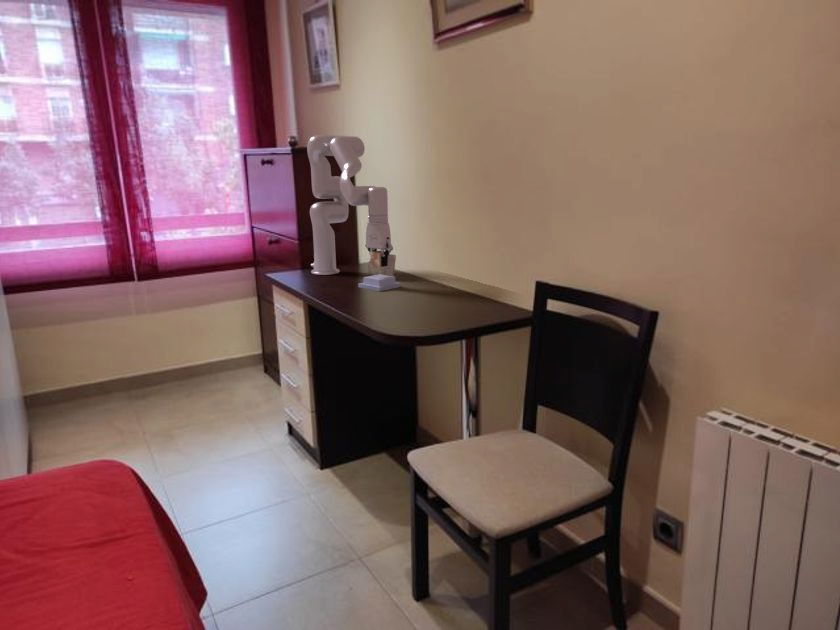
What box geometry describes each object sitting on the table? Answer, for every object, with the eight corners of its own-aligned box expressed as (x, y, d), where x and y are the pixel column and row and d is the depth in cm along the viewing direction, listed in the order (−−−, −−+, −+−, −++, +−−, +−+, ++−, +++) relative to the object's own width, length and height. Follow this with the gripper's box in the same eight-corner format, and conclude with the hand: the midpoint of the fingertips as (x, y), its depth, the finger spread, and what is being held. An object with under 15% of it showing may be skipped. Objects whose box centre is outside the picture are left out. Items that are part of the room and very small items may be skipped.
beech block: (370, 266, 234) (370, 251, 233) (379, 265, 238) (379, 250, 236) (379, 268, 231) (378, 253, 229) (388, 266, 235) (387, 251, 233)
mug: (395, 280, 250) (395, 257, 247) (365, 280, 250) (365, 257, 247) (396, 276, 258) (396, 254, 255) (368, 276, 258) (367, 254, 255)
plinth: (358, 287, 236) (358, 277, 235) (379, 282, 245) (379, 273, 244) (379, 291, 228) (379, 281, 227) (400, 286, 237) (400, 276, 236)
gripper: (356, 218, 233) (357, 264, 237) (387, 221, 222) (388, 269, 226) (370, 217, 238) (371, 262, 243) (400, 219, 227) (401, 266, 231)
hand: (379, 265), depth 234 cm, fingers closed on beech block, 5 cm apart
